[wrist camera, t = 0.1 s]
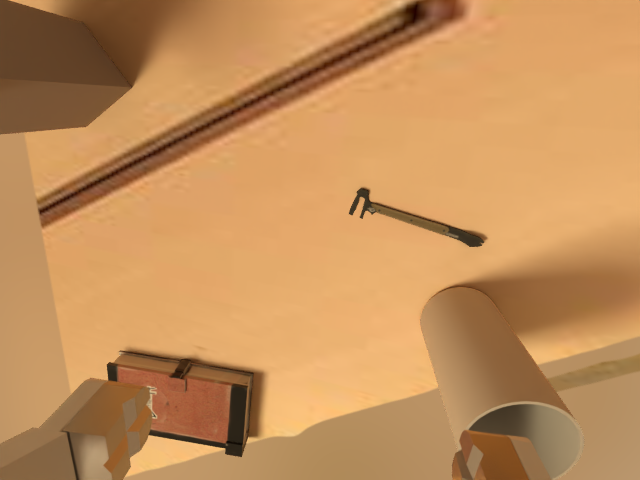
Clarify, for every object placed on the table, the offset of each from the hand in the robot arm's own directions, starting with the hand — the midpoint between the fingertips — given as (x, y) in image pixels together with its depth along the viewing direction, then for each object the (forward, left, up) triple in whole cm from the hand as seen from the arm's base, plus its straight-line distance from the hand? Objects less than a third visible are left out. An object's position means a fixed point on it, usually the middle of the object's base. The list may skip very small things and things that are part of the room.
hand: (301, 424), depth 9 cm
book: (+49, -26, -49) cm, 74 cm away
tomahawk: (+9, +12, -49) cm, 51 cm away
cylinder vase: (+24, +22, -48) cm, 58 cm away
